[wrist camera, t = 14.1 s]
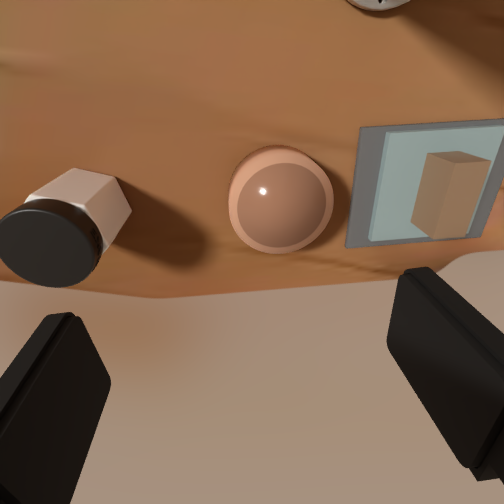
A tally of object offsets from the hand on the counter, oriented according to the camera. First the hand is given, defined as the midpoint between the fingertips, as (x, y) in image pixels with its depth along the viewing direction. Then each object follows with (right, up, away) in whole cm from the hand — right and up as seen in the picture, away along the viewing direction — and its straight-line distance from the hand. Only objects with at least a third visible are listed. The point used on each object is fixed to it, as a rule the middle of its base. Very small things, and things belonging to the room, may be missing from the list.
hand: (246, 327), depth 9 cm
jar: (-19, +8, +28) cm, 35 cm away
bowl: (+3, +10, +29) cm, 31 cm away
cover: (+23, +11, +30) cm, 39 cm away
